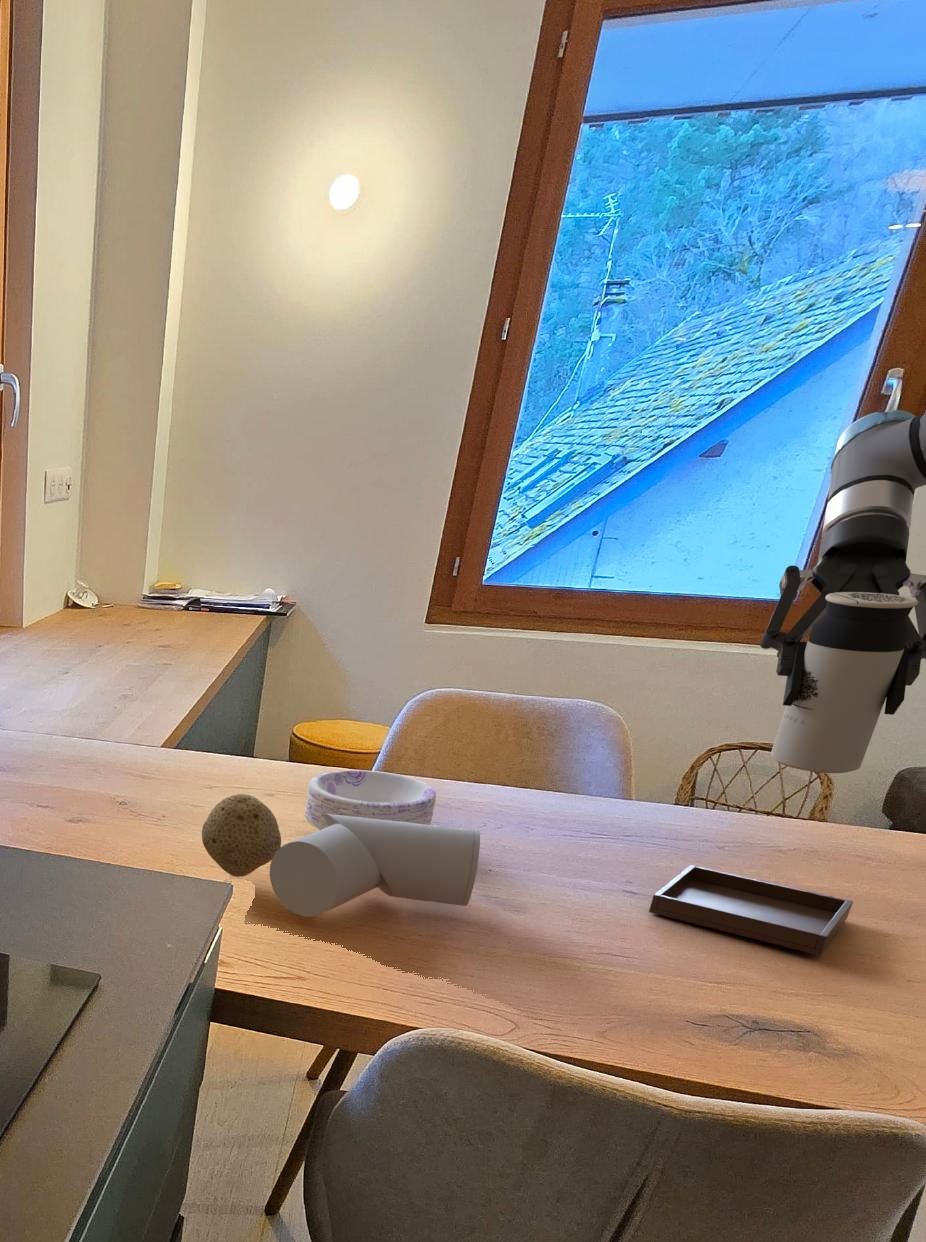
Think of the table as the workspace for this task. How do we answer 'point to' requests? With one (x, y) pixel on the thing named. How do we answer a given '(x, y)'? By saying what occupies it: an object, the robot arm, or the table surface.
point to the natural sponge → (241, 834)
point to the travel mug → (844, 681)
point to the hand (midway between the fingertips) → (841, 702)
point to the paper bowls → (369, 797)
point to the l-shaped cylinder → (375, 864)
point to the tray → (753, 908)
